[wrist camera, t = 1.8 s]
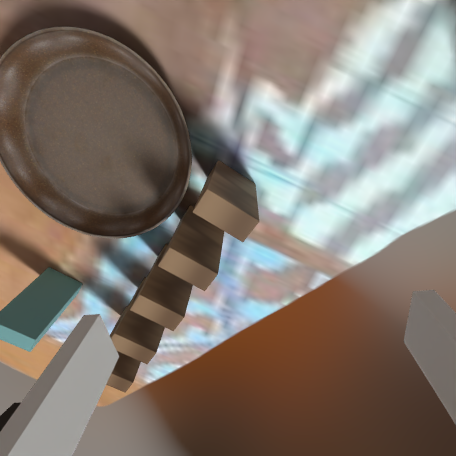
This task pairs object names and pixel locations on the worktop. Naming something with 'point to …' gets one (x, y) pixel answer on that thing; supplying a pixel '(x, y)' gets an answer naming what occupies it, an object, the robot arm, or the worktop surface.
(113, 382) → the domino
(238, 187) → the domino
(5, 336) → the domino
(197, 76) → the worktop surface
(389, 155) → the worktop surface
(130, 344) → the domino
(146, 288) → the domino
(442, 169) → the worktop surface
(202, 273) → the domino
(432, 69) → the worktop surface
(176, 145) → the plant saucer
